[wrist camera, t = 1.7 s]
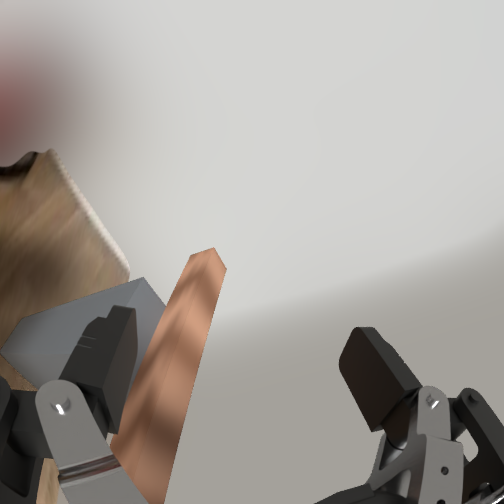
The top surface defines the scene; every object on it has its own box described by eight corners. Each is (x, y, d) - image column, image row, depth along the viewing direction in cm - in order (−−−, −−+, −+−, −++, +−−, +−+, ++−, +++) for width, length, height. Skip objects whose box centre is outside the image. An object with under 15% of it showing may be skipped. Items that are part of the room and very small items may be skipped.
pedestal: (41, 392, 29) (183, 419, 19) (-2, 352, 24) (100, 352, 15) (59, 358, 36) (202, 349, 26) (22, 318, 31) (143, 277, 21)
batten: (126, 511, 9) (159, 524, 9) (92, 500, 8) (123, 517, 7) (203, 275, 31) (226, 268, 30) (190, 255, 29) (213, 247, 28)
